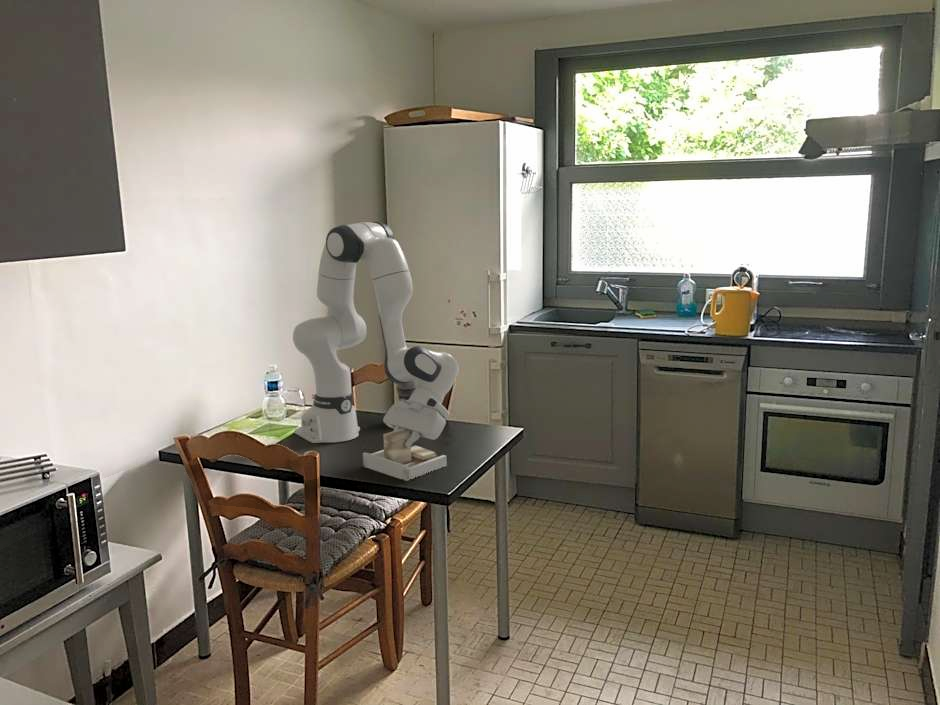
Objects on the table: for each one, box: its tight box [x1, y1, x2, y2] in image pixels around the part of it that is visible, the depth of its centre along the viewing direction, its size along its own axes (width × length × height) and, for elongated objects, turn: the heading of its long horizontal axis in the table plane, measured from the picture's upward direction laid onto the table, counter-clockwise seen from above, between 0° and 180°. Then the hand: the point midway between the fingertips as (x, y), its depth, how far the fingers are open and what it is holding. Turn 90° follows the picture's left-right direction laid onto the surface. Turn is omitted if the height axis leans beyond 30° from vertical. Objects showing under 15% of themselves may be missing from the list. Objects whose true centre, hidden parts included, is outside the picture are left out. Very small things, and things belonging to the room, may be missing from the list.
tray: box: [362, 449, 448, 482], centre depth 222 cm, size 18×16×4 cm
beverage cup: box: [396, 381, 417, 400], centre depth 266 cm, size 7×7×20 cm
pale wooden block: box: [383, 429, 412, 465], centre depth 220 cm, size 4×7×9 cm, turn 138°
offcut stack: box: [407, 445, 438, 465], centre depth 226 cm, size 14×6×4 cm, turn 47°
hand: (399, 444), depth 220 cm, fingers closed on pale wooden block, 3 cm apart
